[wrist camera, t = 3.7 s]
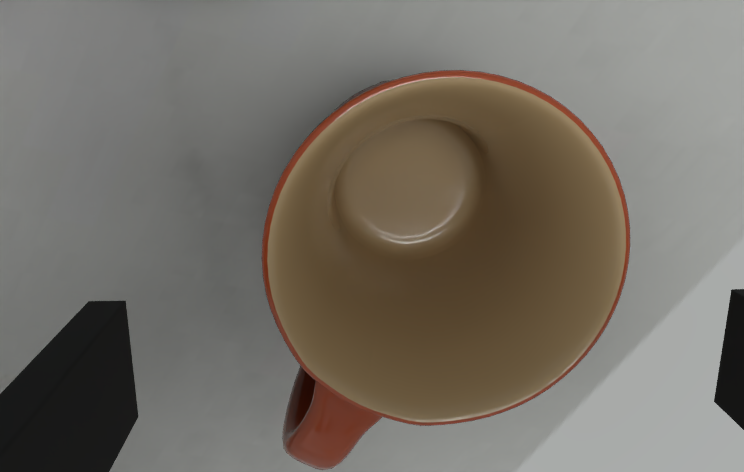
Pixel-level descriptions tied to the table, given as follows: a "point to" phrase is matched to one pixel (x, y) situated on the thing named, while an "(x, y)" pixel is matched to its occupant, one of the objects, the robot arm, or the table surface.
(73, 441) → the robot arm
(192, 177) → the table surface
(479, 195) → the mug
